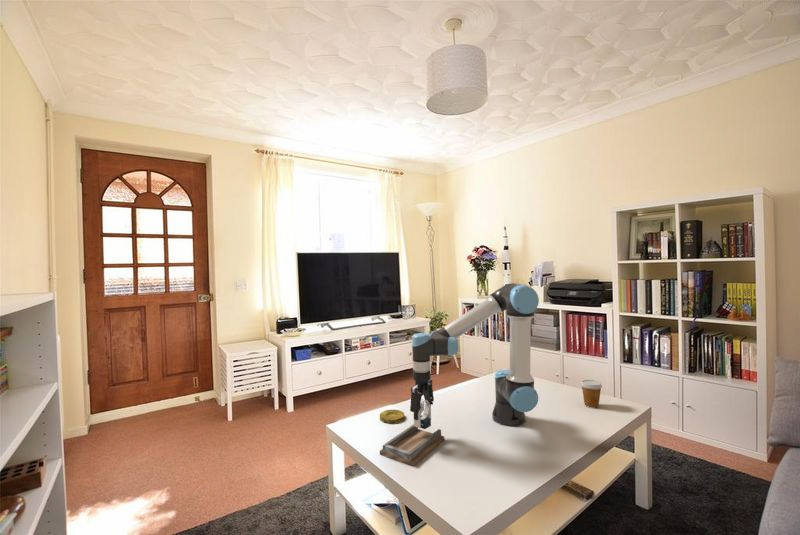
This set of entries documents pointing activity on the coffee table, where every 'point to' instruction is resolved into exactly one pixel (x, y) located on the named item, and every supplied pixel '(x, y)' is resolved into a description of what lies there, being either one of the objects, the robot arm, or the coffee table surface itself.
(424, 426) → the watch
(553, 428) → the coffee table surface
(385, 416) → the olive yellow flat disc
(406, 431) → the wooden tray
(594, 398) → the disposable coffee cup
